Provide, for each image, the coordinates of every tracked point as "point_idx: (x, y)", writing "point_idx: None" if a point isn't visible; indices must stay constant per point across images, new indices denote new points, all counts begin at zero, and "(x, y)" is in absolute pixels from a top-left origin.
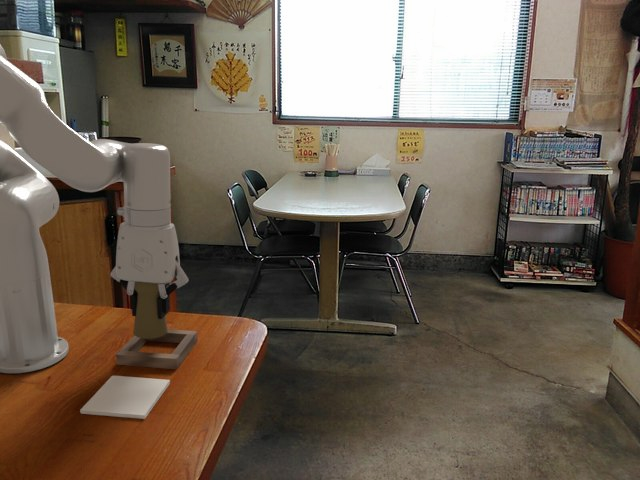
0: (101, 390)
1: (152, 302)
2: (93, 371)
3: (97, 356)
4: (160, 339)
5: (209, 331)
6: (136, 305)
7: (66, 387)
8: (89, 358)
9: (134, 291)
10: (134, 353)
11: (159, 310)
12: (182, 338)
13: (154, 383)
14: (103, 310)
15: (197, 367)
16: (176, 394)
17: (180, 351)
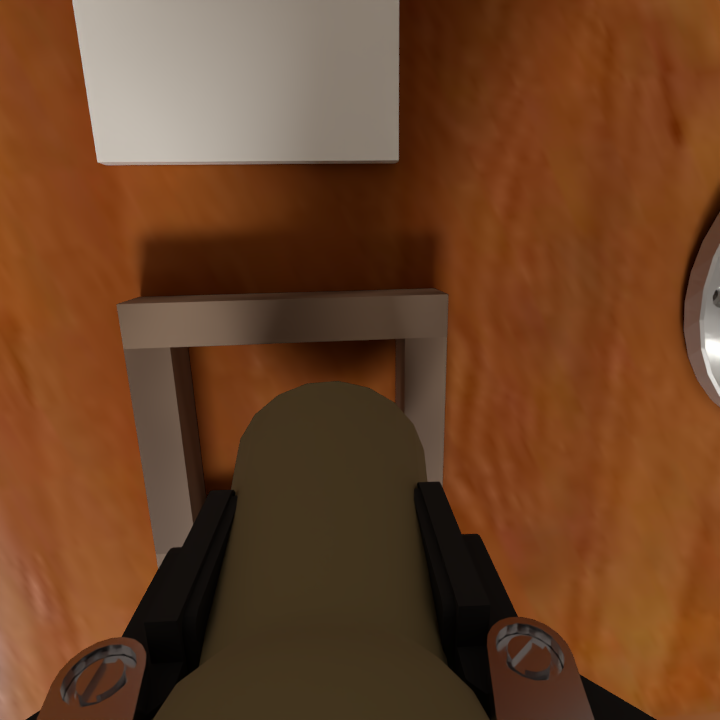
0: (383, 4)
1: (247, 572)
2: (510, 214)
3: (548, 343)
4: None
5: None
6: (424, 546)
7: (567, 53)
8: (575, 320)
9: (486, 679)
10: (360, 320)
11: (203, 530)
12: None
13: (158, 116)
14: (678, 692)
15: (53, 330)
16: (19, 64)
17: (138, 383)
